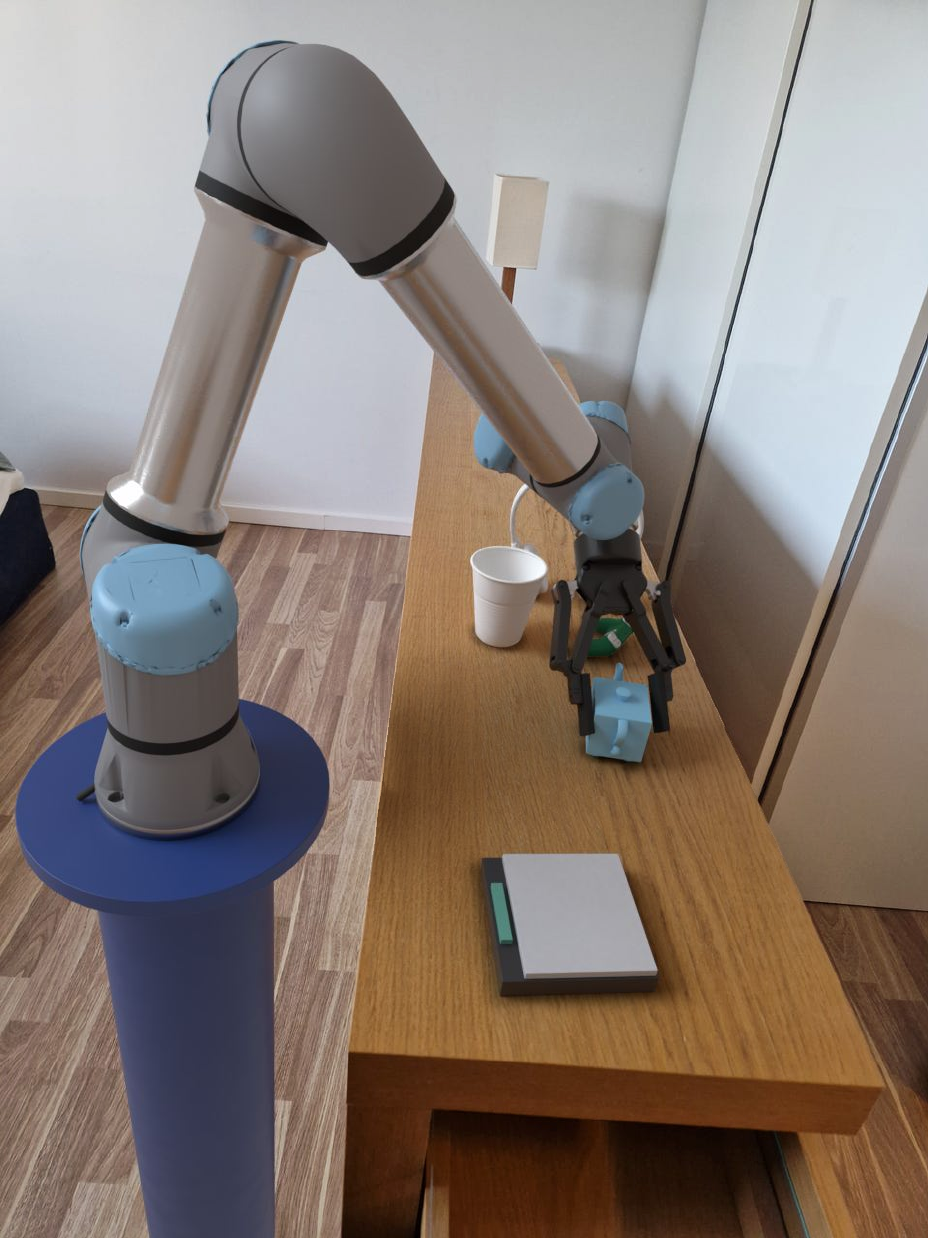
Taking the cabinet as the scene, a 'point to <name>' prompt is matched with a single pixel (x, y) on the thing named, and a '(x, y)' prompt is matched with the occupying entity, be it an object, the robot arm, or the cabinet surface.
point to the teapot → (619, 718)
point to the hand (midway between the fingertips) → (625, 733)
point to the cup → (504, 592)
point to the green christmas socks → (609, 637)
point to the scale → (565, 925)
